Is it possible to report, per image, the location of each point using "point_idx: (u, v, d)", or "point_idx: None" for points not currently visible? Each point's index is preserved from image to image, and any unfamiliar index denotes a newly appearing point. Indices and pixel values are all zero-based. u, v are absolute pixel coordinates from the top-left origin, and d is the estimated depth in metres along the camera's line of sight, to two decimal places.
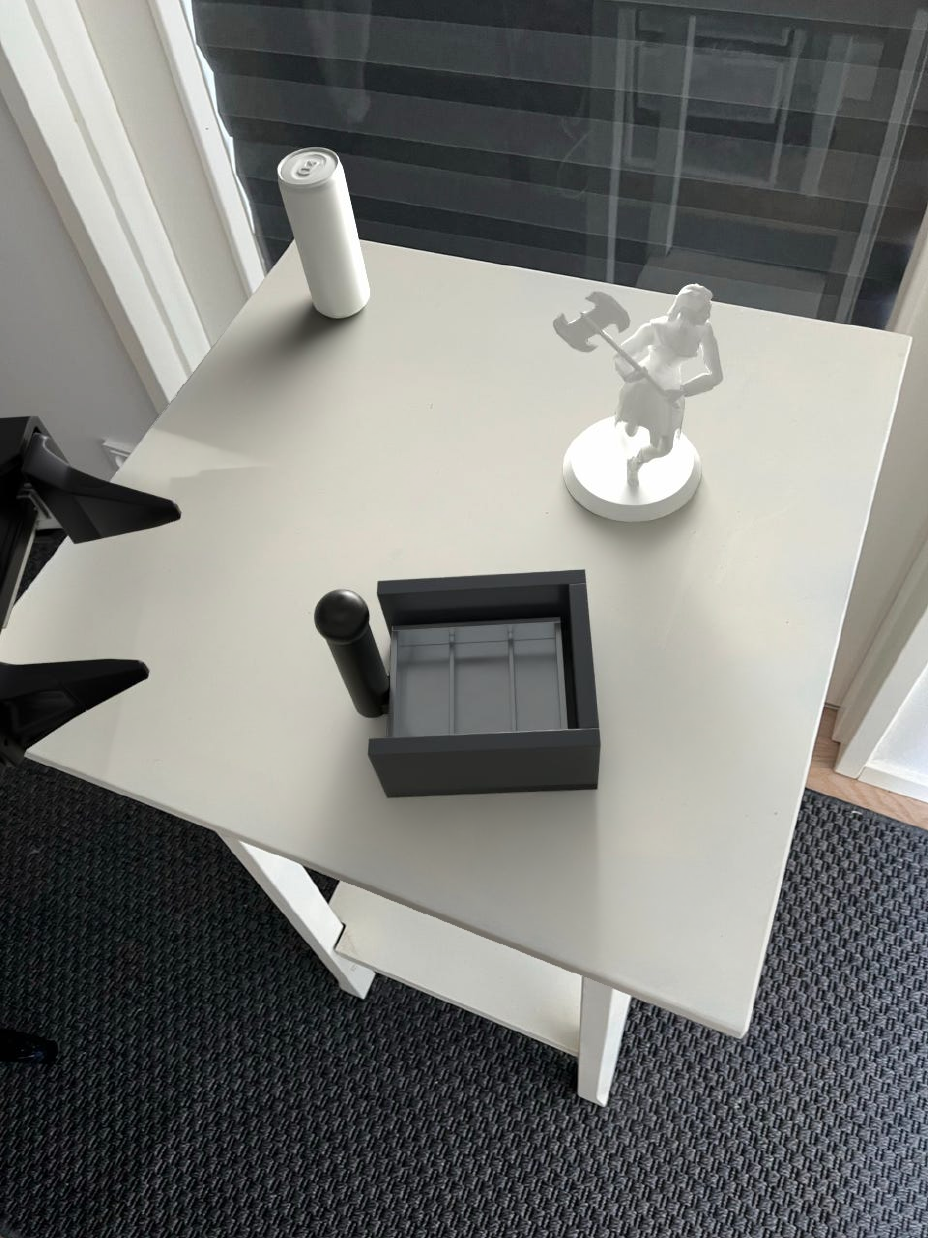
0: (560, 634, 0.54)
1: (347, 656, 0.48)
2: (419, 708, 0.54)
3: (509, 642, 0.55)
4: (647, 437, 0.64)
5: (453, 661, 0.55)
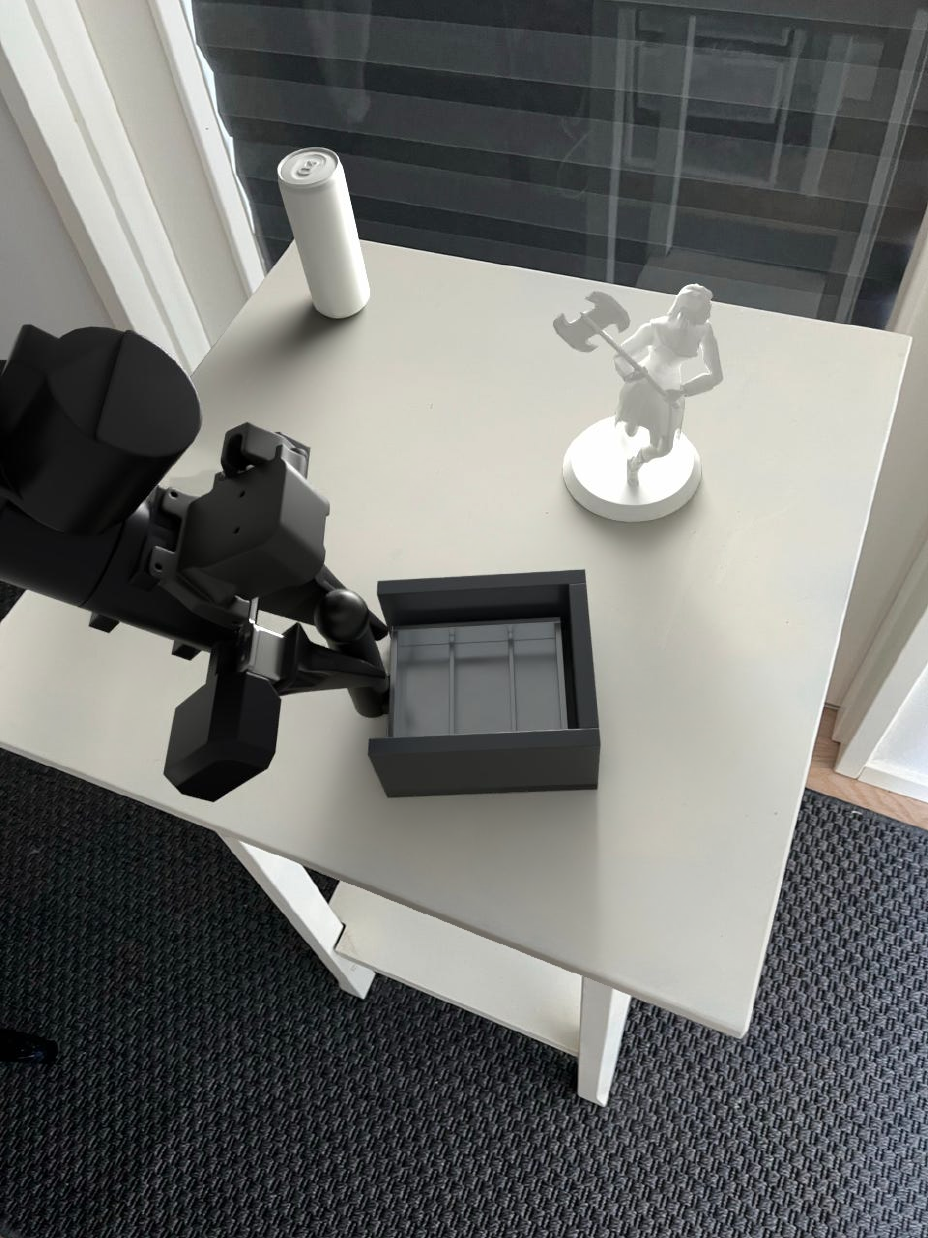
0: (560, 634, 0.54)
1: None
2: (419, 708, 0.54)
3: (509, 642, 0.55)
4: (647, 437, 0.64)
5: (453, 661, 0.55)
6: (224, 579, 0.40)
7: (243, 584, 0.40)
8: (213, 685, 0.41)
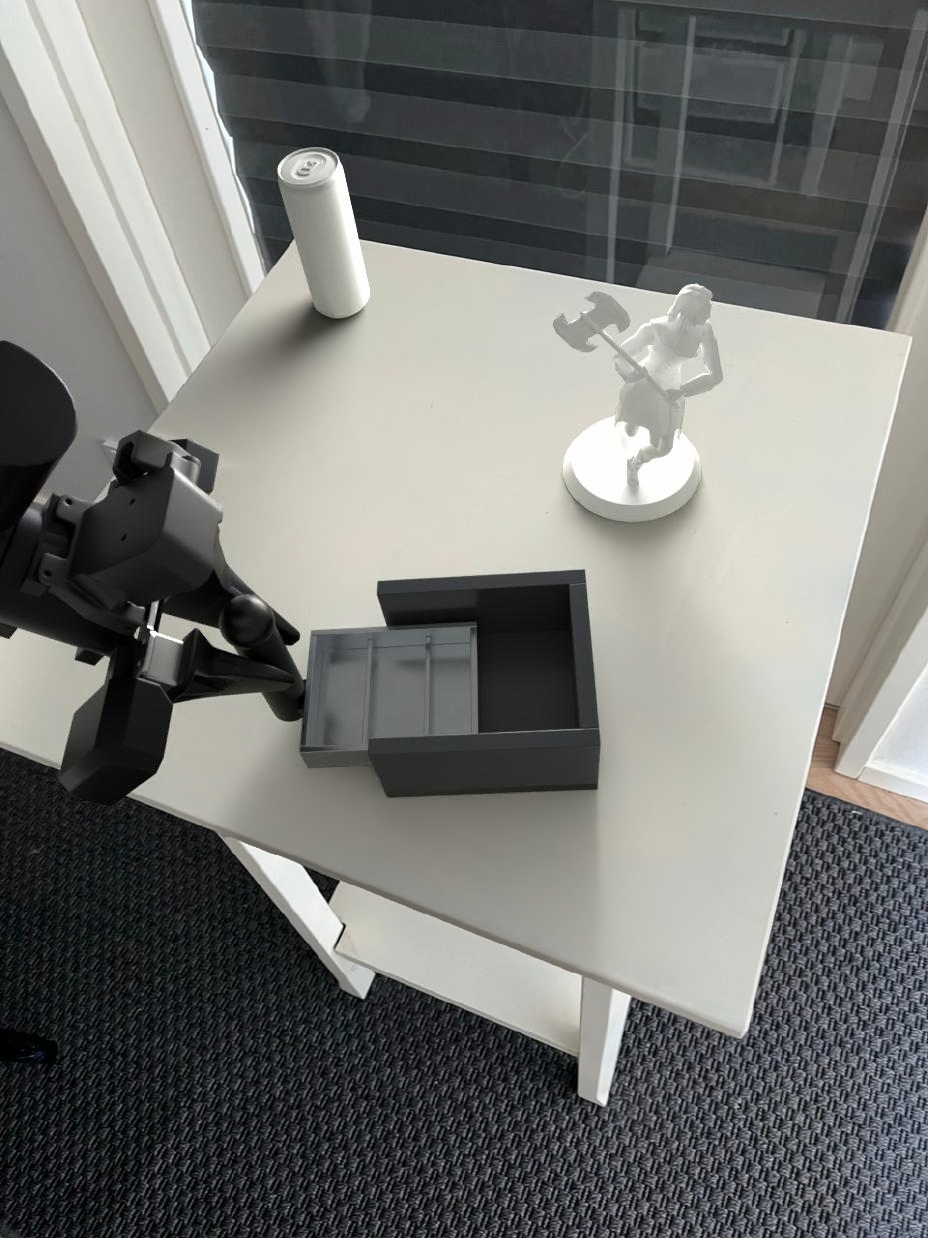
0: (475, 638, 0.54)
1: None
2: (336, 712, 0.55)
3: (426, 646, 0.55)
4: (647, 437, 0.64)
5: (370, 665, 0.55)
6: (113, 586, 0.40)
7: (133, 591, 0.41)
8: (104, 690, 0.41)
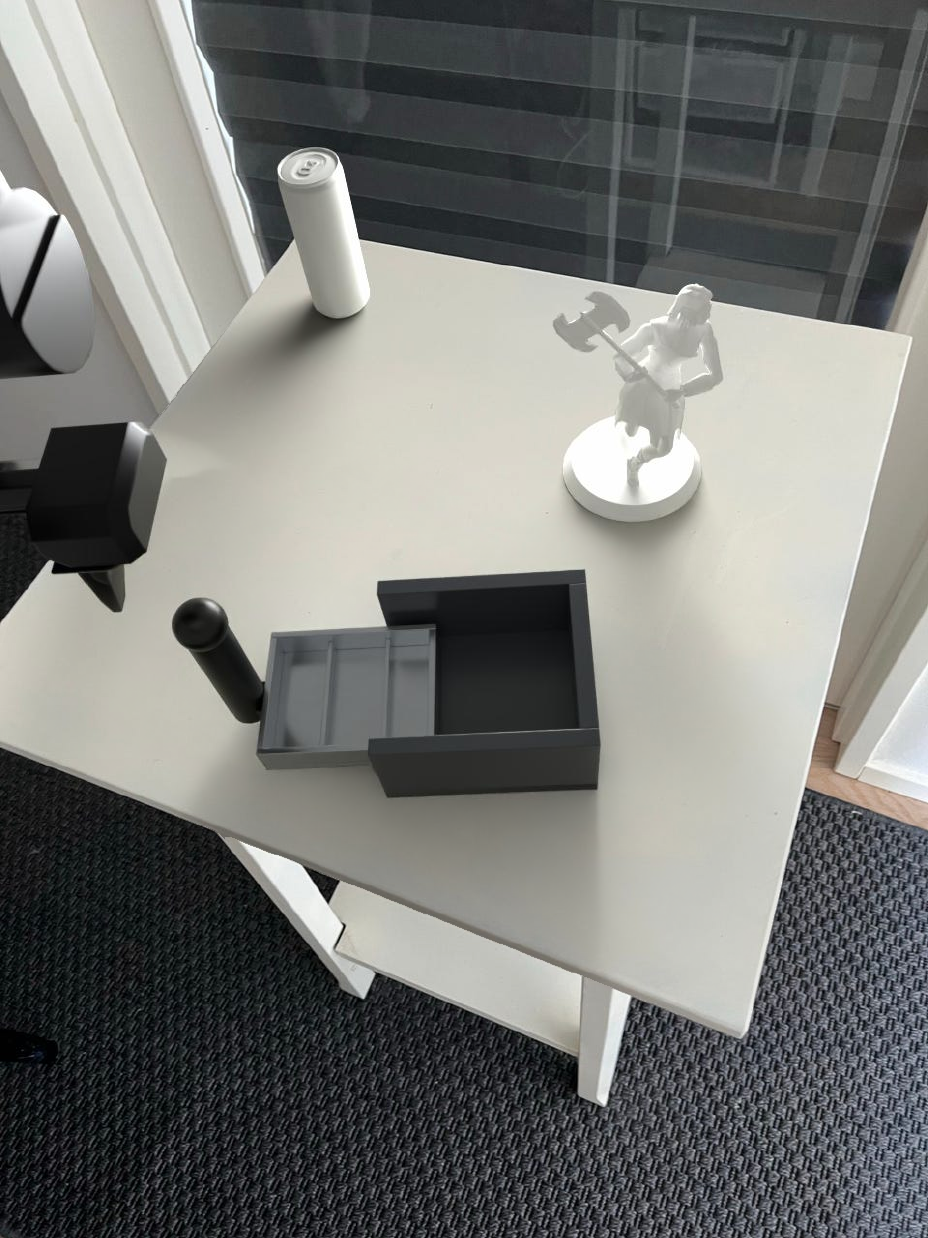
0: (434, 641, 0.54)
1: (208, 663, 0.49)
2: (295, 714, 0.55)
3: (386, 648, 0.55)
4: (647, 437, 0.64)
5: (330, 667, 0.55)
6: None
7: None
8: None
